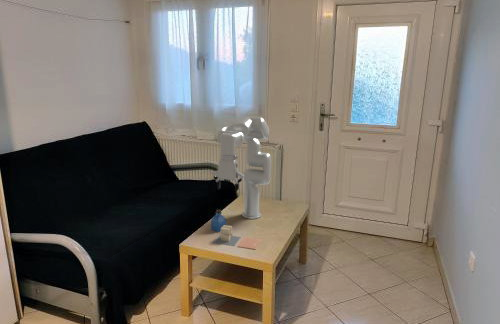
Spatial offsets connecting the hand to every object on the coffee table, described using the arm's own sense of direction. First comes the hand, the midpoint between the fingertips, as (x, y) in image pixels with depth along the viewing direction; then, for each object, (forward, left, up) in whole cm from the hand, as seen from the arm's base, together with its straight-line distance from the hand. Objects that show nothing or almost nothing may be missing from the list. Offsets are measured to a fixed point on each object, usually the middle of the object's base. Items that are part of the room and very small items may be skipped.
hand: (227, 189), depth 187 cm
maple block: (-6, -3, -31) cm, 32 cm away
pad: (-5, +11, -31) cm, 33 cm away
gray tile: (-5, -2, -31) cm, 32 cm away
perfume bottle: (-17, -12, -32) cm, 38 cm away
